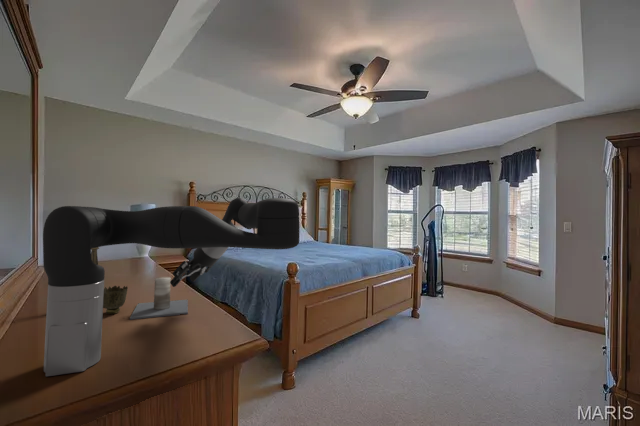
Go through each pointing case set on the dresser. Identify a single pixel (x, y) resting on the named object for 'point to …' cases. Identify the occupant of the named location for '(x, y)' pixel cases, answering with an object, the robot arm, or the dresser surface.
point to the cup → (114, 298)
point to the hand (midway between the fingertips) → (182, 282)
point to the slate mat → (148, 310)
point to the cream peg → (162, 293)
